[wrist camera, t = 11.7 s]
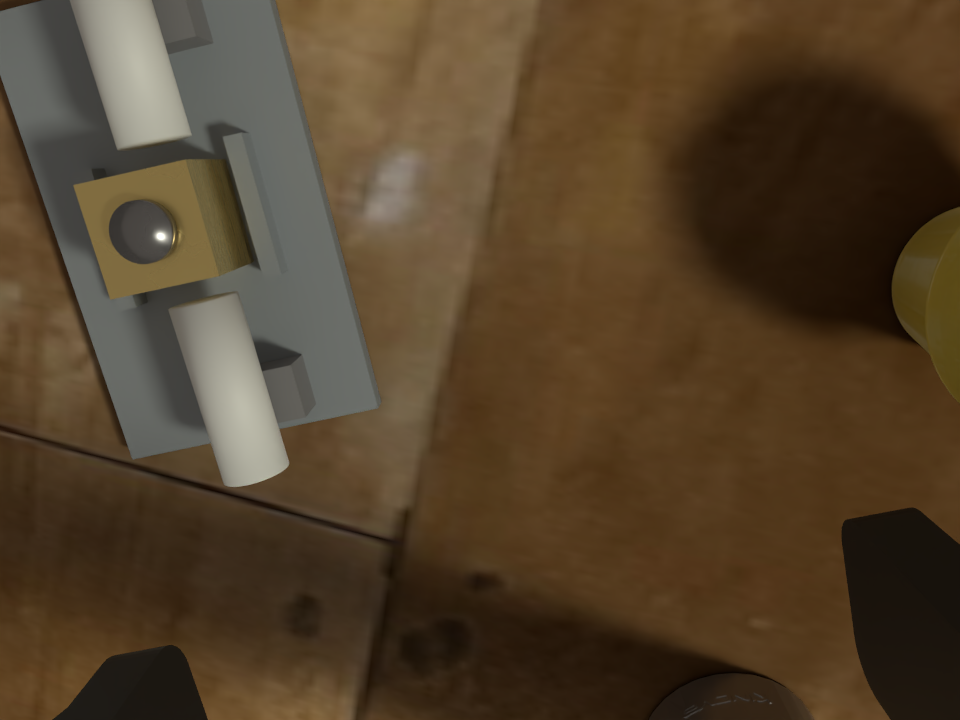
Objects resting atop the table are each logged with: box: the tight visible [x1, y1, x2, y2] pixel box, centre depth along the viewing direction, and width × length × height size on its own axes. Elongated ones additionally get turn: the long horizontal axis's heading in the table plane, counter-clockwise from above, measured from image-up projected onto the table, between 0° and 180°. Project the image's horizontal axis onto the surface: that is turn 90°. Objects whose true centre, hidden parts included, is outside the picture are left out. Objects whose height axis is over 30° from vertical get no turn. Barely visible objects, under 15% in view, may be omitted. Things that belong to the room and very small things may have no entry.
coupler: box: [73, 159, 254, 300], centre depth 33 cm, size 4×4×5 cm
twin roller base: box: [0, 0, 381, 487], centre depth 34 cm, size 22×12×6 cm, turn 13°
